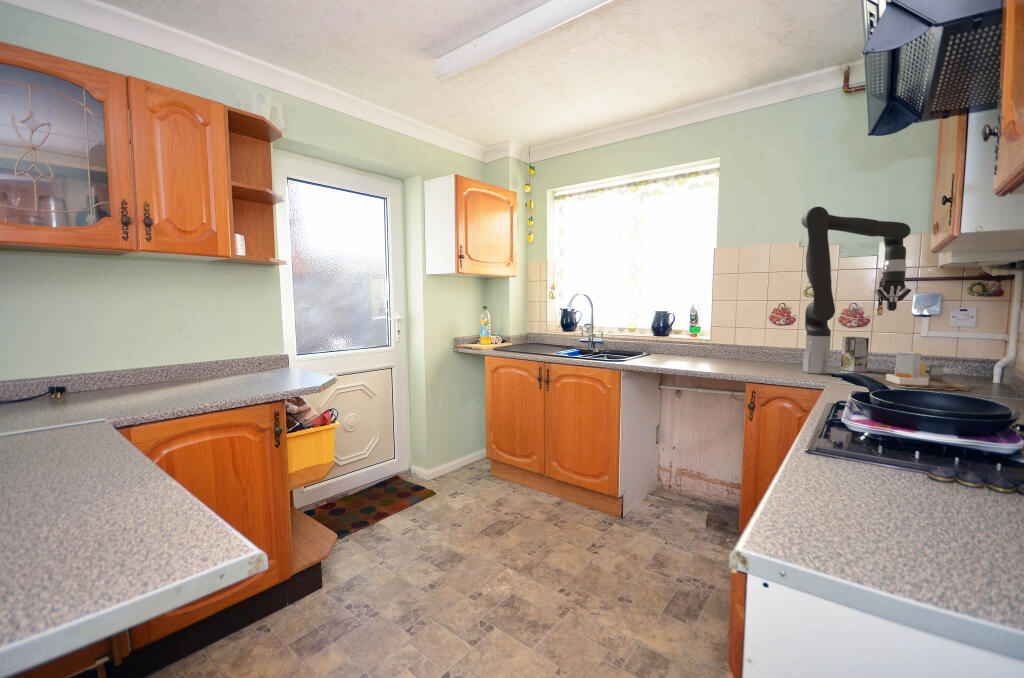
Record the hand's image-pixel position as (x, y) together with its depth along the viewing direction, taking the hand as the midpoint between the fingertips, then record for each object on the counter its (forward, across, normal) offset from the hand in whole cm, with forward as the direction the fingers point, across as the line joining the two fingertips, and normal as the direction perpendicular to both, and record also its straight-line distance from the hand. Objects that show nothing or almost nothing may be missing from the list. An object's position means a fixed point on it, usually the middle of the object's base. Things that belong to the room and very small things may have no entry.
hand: (891, 310), depth 195 cm
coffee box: (+29, +6, -16) cm, 34 cm away
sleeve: (+27, +6, +26) cm, 38 cm away
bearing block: (+28, -8, +16) cm, 33 cm away
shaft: (+26, -9, +16) cm, 32 cm away
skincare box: (+28, +6, +26) cm, 39 cm away
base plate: (+29, 0, +22) cm, 36 cm away
